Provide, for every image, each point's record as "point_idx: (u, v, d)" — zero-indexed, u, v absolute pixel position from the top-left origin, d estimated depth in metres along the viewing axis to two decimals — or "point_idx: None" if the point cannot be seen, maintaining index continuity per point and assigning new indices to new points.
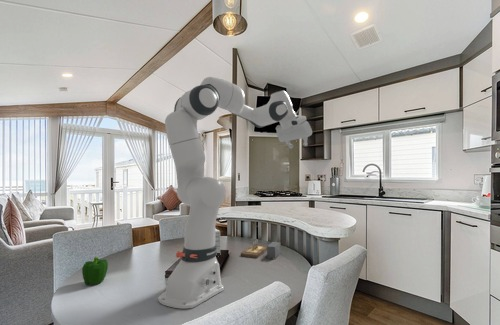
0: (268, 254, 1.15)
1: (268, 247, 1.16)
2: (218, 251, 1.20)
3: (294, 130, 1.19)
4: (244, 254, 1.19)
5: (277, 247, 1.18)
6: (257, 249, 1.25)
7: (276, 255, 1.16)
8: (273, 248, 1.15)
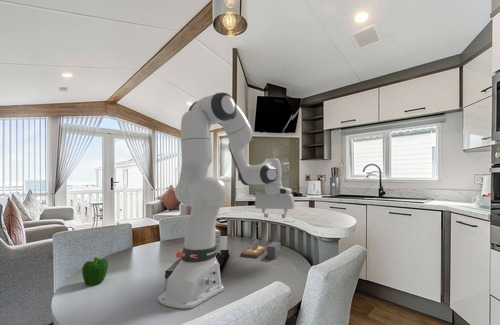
0: (268, 254, 1.15)
1: (268, 247, 1.16)
2: (218, 251, 1.20)
3: (278, 199, 1.19)
4: (244, 254, 1.19)
5: (277, 247, 1.18)
6: (257, 249, 1.25)
7: (276, 255, 1.16)
8: (273, 248, 1.15)
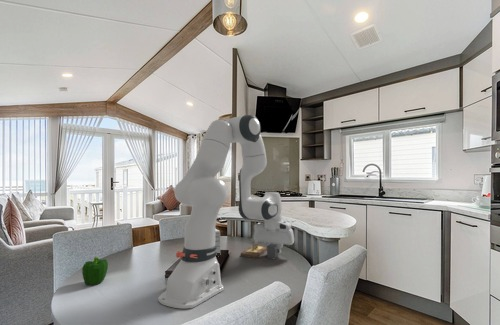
0: (268, 254, 1.15)
1: (268, 247, 1.16)
2: (218, 251, 1.20)
3: (277, 233, 1.17)
4: (244, 254, 1.19)
5: (277, 247, 1.18)
6: (257, 249, 1.25)
7: (276, 255, 1.16)
8: (273, 248, 1.15)
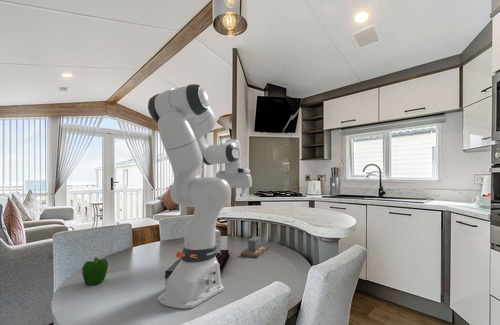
0: (249, 247, 1.22)
1: (249, 241, 1.22)
2: (218, 251, 1.20)
3: (236, 178, 1.24)
4: (244, 254, 1.19)
5: (258, 241, 1.24)
6: None
7: (257, 248, 1.22)
8: (253, 242, 1.21)
